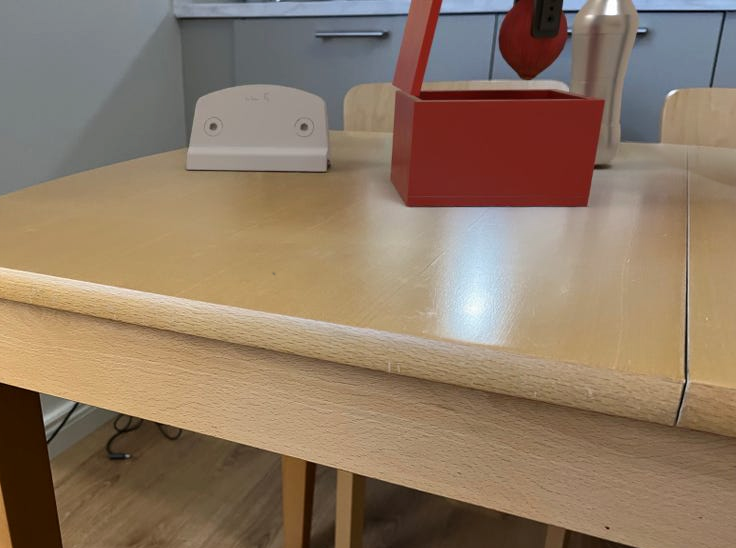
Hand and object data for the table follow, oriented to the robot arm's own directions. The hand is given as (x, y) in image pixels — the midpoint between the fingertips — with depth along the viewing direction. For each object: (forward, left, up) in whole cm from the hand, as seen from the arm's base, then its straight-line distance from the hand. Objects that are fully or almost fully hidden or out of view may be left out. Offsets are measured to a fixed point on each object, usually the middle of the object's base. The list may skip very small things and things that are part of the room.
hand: (532, 37), depth 67 cm
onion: (0, 0, -4) cm, 4 cm away
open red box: (+3, 0, -14) cm, 14 cm away
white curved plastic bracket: (+23, -19, -14) cm, 33 cm away
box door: (+9, -1, +4) cm, 10 cm away
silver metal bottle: (-14, -13, -14) cm, 24 cm away
